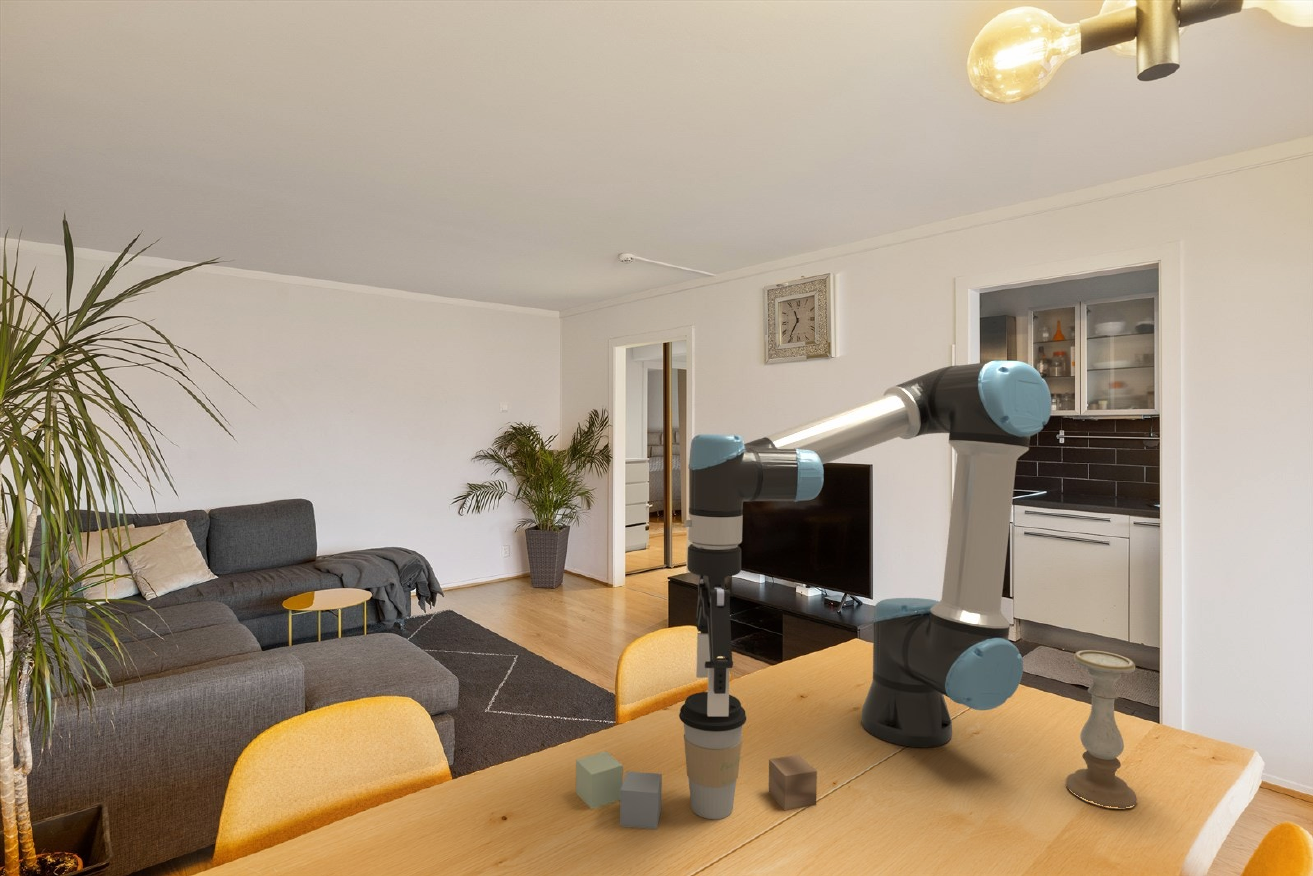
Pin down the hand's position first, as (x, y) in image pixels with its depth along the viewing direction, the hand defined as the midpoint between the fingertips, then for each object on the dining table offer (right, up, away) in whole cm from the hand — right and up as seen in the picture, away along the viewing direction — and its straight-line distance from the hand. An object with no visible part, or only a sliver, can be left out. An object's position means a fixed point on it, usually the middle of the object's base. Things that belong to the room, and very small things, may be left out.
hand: (711, 695), depth 96 cm
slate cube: (-10, -16, -2) cm, 19 cm away
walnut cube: (+12, -16, +3) cm, 20 cm away
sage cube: (-16, -16, +3) cm, 23 cm away
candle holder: (+58, -17, +5) cm, 61 cm away
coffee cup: (0, -16, 0) cm, 16 cm away
